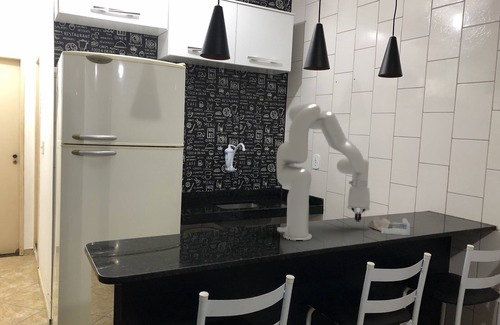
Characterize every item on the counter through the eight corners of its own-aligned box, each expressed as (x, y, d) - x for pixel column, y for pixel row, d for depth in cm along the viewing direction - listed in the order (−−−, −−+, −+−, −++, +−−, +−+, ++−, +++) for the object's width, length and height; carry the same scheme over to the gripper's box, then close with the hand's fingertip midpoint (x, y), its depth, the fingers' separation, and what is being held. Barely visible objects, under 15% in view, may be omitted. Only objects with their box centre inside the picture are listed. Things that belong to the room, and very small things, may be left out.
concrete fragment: (381, 233, 189) (381, 220, 189) (366, 227, 203) (366, 215, 202) (394, 233, 190) (395, 220, 190) (379, 226, 204) (379, 214, 204)
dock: (381, 233, 188) (381, 222, 188) (379, 226, 203) (379, 217, 202) (409, 235, 185) (410, 224, 185) (405, 228, 200) (405, 218, 199)
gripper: (343, 184, 195) (341, 221, 195) (376, 186, 191) (373, 224, 192) (344, 182, 202) (342, 219, 203) (375, 184, 198) (373, 221, 199)
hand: (357, 221), depth 197 cm, fingers closed
